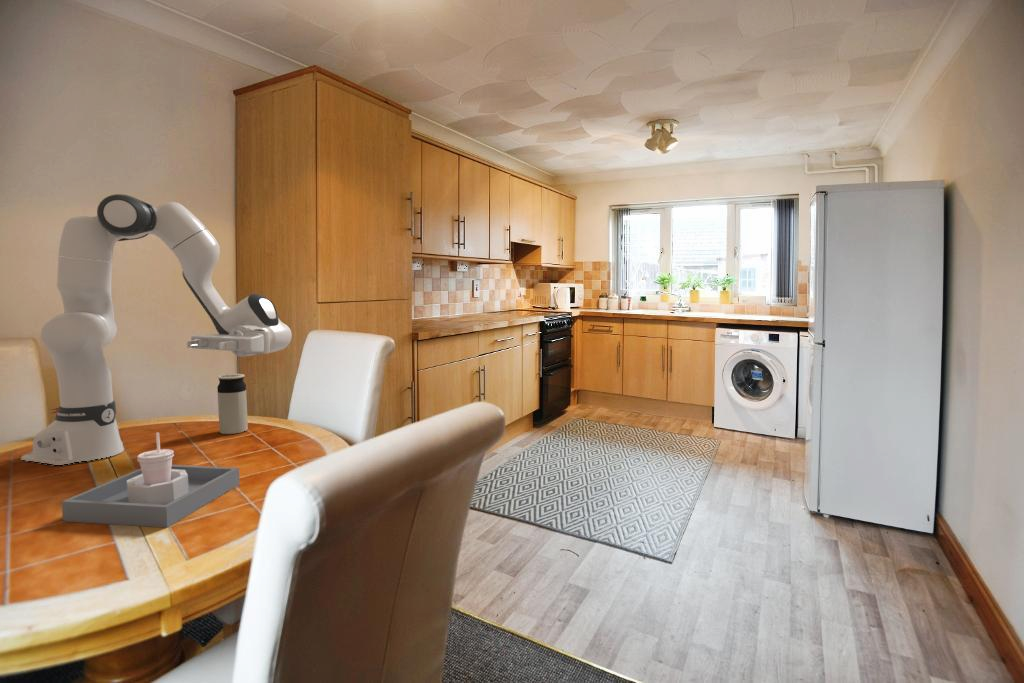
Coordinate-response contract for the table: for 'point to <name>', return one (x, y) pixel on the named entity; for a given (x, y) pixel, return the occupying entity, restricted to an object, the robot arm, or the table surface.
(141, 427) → the table surface
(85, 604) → the table surface
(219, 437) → the table surface
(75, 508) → the tray
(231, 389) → the travel mug
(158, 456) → the smoothie
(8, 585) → the table surface
